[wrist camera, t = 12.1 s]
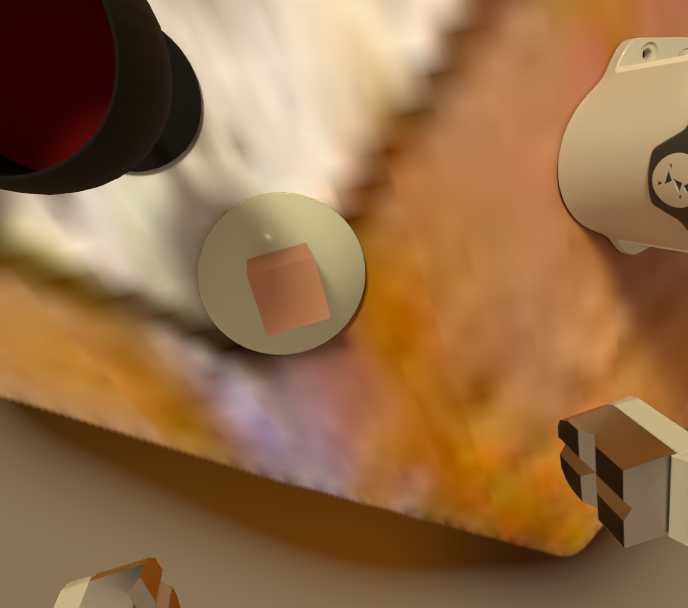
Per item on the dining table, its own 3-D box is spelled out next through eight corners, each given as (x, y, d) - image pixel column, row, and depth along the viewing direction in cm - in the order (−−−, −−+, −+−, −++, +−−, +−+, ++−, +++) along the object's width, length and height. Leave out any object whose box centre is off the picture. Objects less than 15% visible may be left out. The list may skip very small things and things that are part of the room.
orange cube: (305, 242, 38) (314, 256, 33) (321, 297, 40) (330, 317, 35) (246, 259, 37) (246, 275, 33) (264, 314, 39) (267, 337, 35)
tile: (342, 173, 37) (344, 173, 37) (377, 324, 43) (379, 328, 42) (172, 218, 36) (170, 220, 35) (230, 370, 41) (229, 374, 40)
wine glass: (108, 197, 35) (-51, 260, 16) (8, 57, 31) (-352, -71, 12) (229, 130, 35) (209, 117, 16) (145, -17, 31) (-6, -255, 12)
